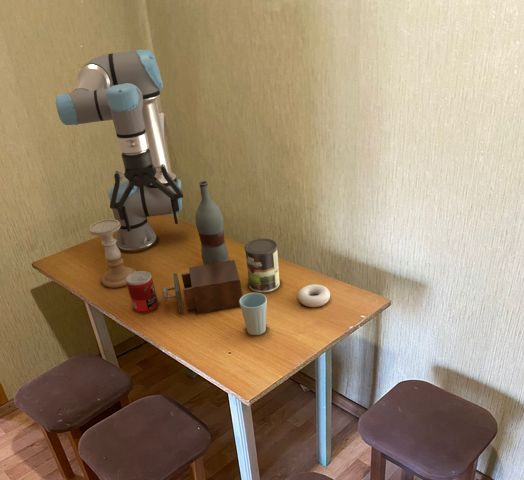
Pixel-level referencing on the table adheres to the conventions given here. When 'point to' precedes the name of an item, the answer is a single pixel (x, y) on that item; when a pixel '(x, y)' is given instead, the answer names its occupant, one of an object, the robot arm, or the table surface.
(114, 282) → the candle holder
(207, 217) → the bottle
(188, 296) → the drawer
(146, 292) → the canned food
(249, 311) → the cup
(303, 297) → the donut
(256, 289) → the coffee can
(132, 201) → the robot arm
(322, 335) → the table surface
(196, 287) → the cabinet
